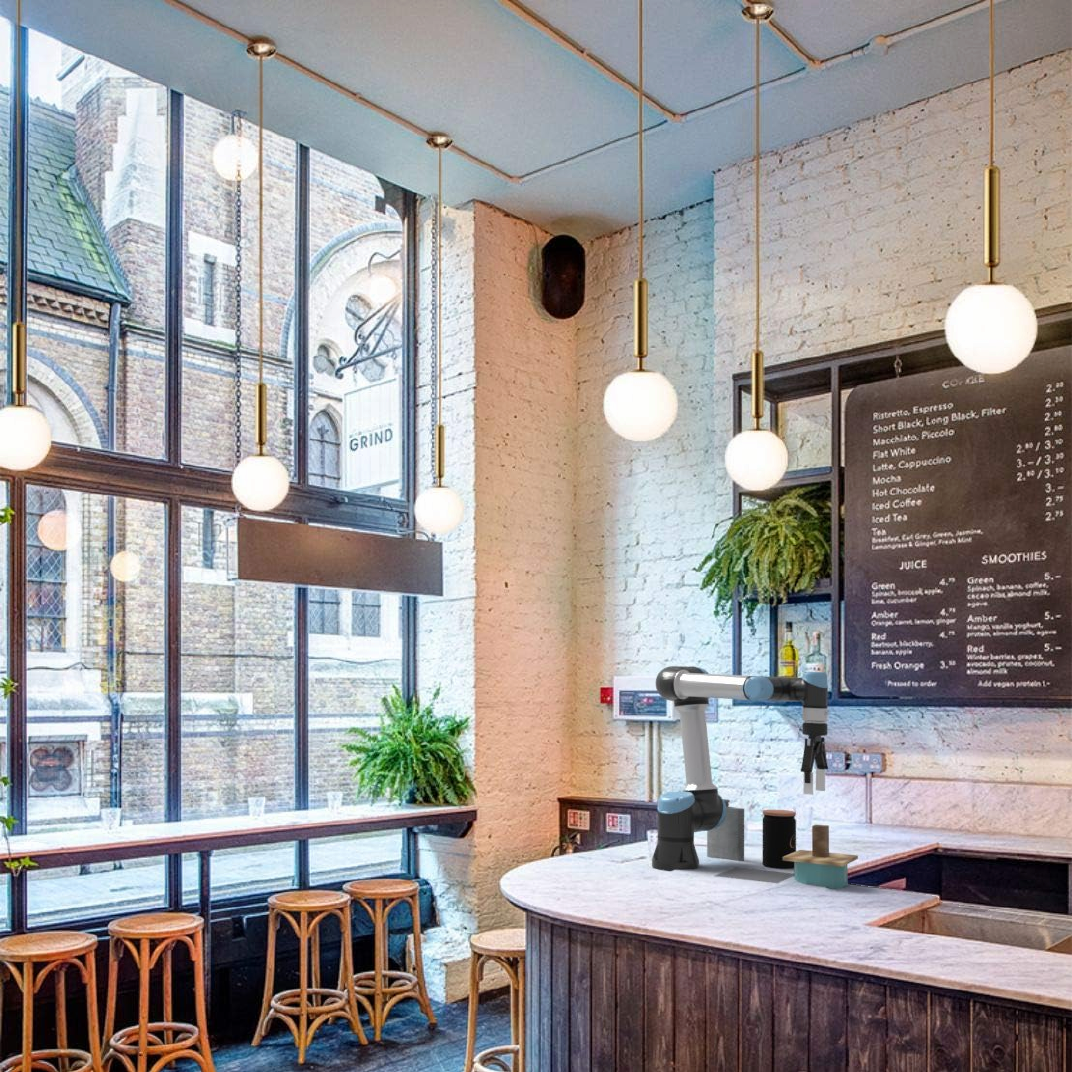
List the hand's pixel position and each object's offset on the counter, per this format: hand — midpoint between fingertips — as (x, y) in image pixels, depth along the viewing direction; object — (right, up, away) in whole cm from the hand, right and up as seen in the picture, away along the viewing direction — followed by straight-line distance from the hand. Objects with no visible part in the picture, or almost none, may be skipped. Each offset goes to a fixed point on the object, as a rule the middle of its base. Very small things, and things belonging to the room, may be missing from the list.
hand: (814, 792), depth 352 cm
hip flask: (-21, -31, +38) cm, 53 cm away
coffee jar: (-6, -30, +22) cm, 37 cm away
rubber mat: (-17, -27, +4) cm, 32 cm away
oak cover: (+1, -19, -4) cm, 20 cm away
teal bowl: (+1, -26, -4) cm, 27 cm away
